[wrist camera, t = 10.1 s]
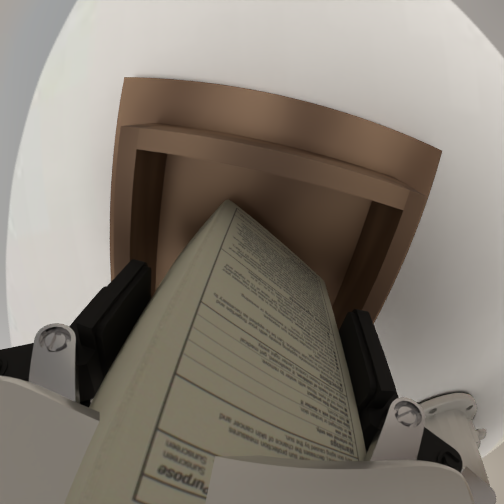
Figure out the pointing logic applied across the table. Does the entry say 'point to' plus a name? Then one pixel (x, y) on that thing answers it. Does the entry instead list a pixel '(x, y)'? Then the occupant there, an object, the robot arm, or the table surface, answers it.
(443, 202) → the table surface
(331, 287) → the tray
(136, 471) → the skincare box
